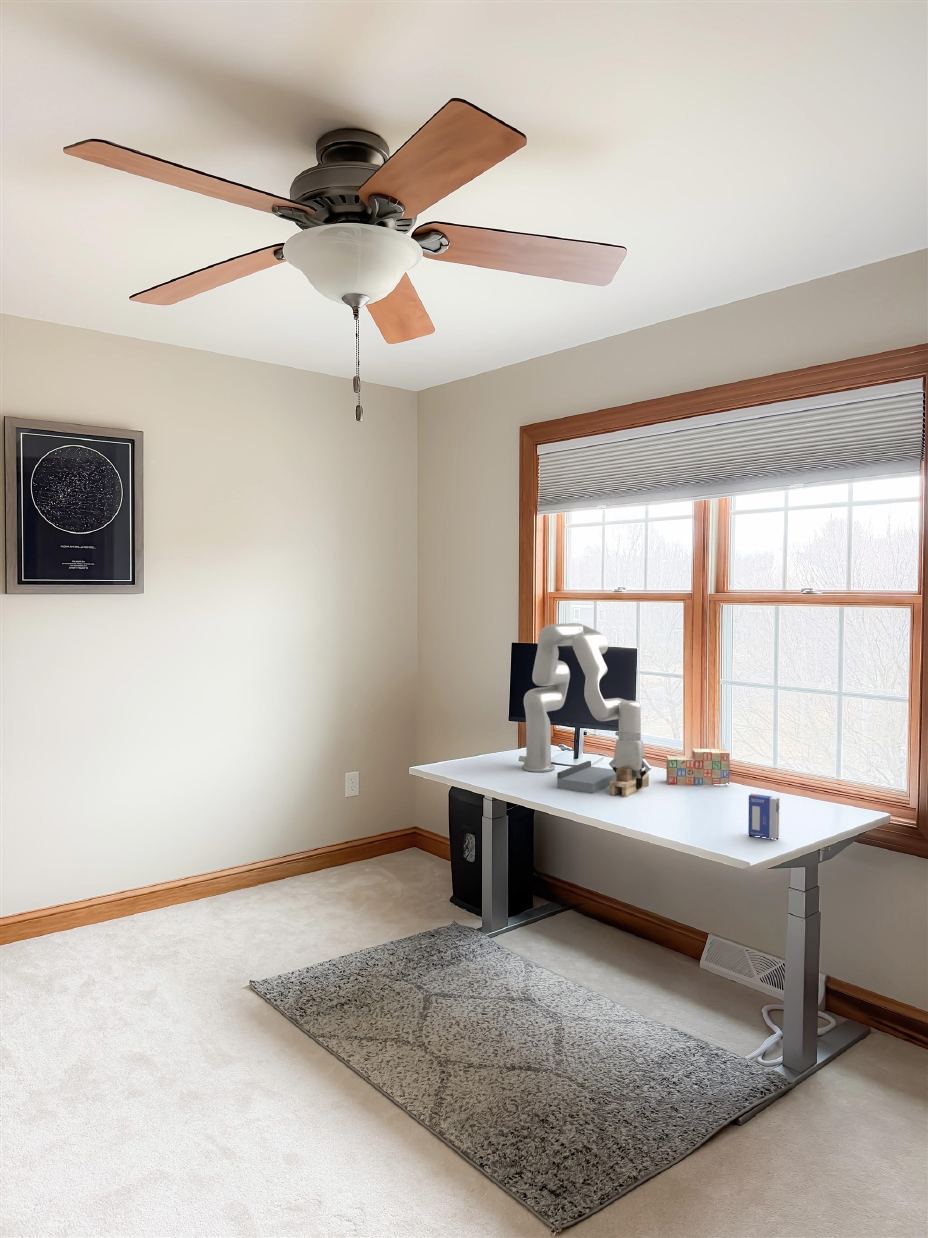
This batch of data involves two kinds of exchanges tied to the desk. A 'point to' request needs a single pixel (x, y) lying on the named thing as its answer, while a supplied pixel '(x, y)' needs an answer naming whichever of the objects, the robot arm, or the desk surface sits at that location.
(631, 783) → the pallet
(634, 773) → the teal cube
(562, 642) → the robot arm
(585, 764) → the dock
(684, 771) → the stack of blocks
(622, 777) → the brown wooden cube
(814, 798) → the desk surface
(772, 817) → the walkman
